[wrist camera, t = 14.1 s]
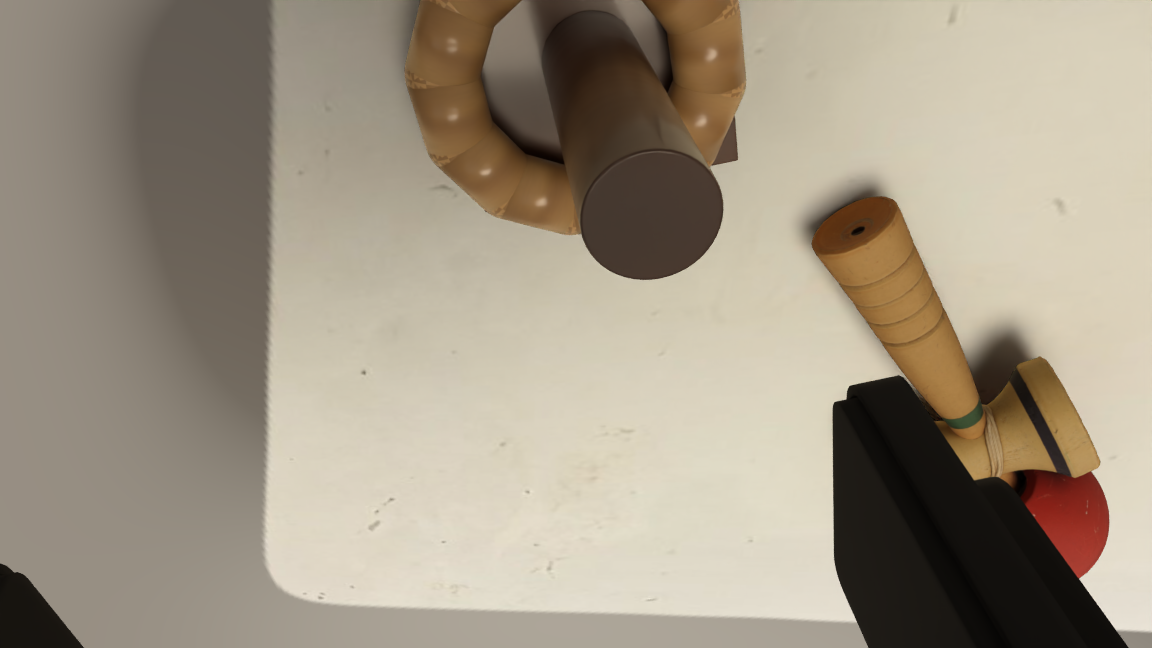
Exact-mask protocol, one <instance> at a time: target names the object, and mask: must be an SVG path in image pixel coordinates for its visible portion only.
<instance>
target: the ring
mask: <svg viewBox="0 0 1152 648" xmlns="http://www.w3.org/2000/svg"><path fill="white" fill-rule="evenodd" d="M521 1H522V0H420V4H419V8H418V12H417V17H416V21H415V25H414V29H413V33H412V38H411V42H410V46H409V50H408V54H407V59H406V63H405V70H404V71H405V81H406V85H407V88H408V91H409V95H410V98H411V101H412V104H413V107H414V111H415V114H416V117H417V120H418V123H419V127H420V130H421V133H422V136H423V139H424V143H425V146H426V149H427V152H428V154H429V156H430V158H431V159H432V161H433V162H434V163H435V164H436V165H437V166H438V167H439V168H440V169H441V170H442V171H443V172H444V173H445V174H446V175H447V176H449V177H450V178H451V179H452V180H453V181H454V182H455V183H456V184H457V185H458V186H459V187H460V188H461V189H463V190H464V191H465V192H466V193H467V194H468V195H469V196H470V197H471V198H472V199H473V200H474V201H476V202H477V203H478V204H479V205H480V206H481V207H482V208H483V209H484V210H485V211H487V212H488V213H489V214H491V215H493V216H495V217H497V218H500V219H504V220H508V221H512V222H516V223H520V224H524V225H528V226H532V227H536V228H540V229H544V230H548V231H552V232H556V233H560V234H564V235H577V234H581V230H580V226H579V222H578V218H577V214H576V209H575V205H574V201H573V197H572V193H571V188H570V184H569V180H568V176H567V171H566V167H565V165H564V164H560V163H556V162H553V161H549V160H546V159H542V158H538V157H535V156H531V155H527V154H525V153H524V152H523V151H522V150H521V149H520V148H519V147H518V146H517V145H516V144H515V143H514V142H513V141H512V140H511V139H510V138H509V137H508V136H507V135H506V134H505V133H504V132H503V131H502V130H501V129H500V128H499V127H498V126H497V125H496V124H495V123H494V122H493V121H492V117H491V114H490V110H489V106H488V102H487V98H486V95H485V91H484V87H483V83H482V79H481V72H482V69H483V65H484V61H485V58H486V54H487V51H488V47H489V44H490V40H491V37H492V33H493V30H494V27H495V26H496V25H497V24H498V23H499V22H500V21H501V20H502V19H503V18H504V17H505V16H506V15H507V14H508V13H509V12H510V11H511V10H512V9H513V8H514V7H515V6H516V5H517V4H518V3H520V2H521ZM641 1H642V2H643V3H644V4H645V6H646V7H647V8H648V9H649V10H650V12H651V13H652V14H653V15H654V17H655V18H656V19H657V20H658V21H659V23H660V24H661V25H662V26H663V28H664V29H665V30H666V31H667V38H668V45H669V52H670V59H671V66H672V73H673V81H672V83H671V86H670V88H669V91H668V93H667V94H668V96H669V97H670V99H671V101H672V103H673V104H674V106H675V108H676V110H677V111H678V113H679V115H680V117H681V118H682V120H683V122H684V124H685V125H686V127H687V129H688V131H689V132H690V134H691V136H692V138H693V139H694V141H695V143H696V145H697V146H698V148H699V150H700V152H701V154H702V155H703V157H704V159H705V161H706V162H707V164H708V166H709V168H710V167H711V165H712V164H713V162H714V161H715V159H716V156H717V154H718V152H719V150H720V147H721V145H722V143H723V140H724V138H725V136H726V134H727V131H728V129H729V127H730V125H731V122H732V120H733V118H734V115H735V113H736V111H737V109H738V106H739V104H740V102H741V100H742V97H743V95H744V92H745V87H746V71H745V60H744V49H743V38H742V28H741V17H740V7H739V1H738V0H641Z"/></svg>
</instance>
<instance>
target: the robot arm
mask: <svg viewBox="0 0 1152 648" xmlns="http://www.w3.org/2000/svg"><path fill="white" fill-rule="evenodd" d="M833 504H834V561H835V566H836V571H837V575H838V578H839V581H840V584H841V587H842V589H843V591H844V594H845V596H846V598H847V600H848V603H849V605H850V607H851V609H852V612H853V614H854V616H855V618H856V621H857V623H858V625H859V627H860V629H861V632H862V634H863V636H864V639H865V641H866V643H867V645H868V648H1128V646H1127V645H1126V643H1125V642H1124V641H1123V639H1122V638H1121V637H1120V635H1119V634H1118V632H1117V631H1116V630H1115V628H1114V627H1113V625H1112V624H1111V623H1110V621H1109V620H1108V619H1107V617H1106V616H1105V614H1104V613H1103V612H1102V610H1101V609H1100V608H1099V606H1098V605H1097V603H1096V602H1095V601H1094V599H1093V598H1092V596H1091V595H1090V594H1089V592H1088V591H1087V590H1086V588H1085V587H1084V585H1083V584H1082V583H1081V581H1080V580H1079V578H1078V577H1077V576H1076V574H1075V573H1074V572H1073V570H1072V569H1071V567H1070V566H1069V565H1068V563H1067V562H1066V560H1065V559H1064V558H1063V556H1062V555H1061V554H1060V552H1059V551H1058V549H1057V548H1056V547H1055V545H1054V544H1053V543H1052V541H1051V540H1050V538H1049V537H1048V536H1047V534H1046V533H1045V531H1044V530H1043V529H1042V527H1041V526H1040V525H1039V523H1038V522H1037V520H1036V519H1035V518H1034V516H1033V515H1032V513H1031V512H1030V511H1029V509H1028V508H1027V507H1026V505H1025V504H1024V502H1023V501H1022V500H1021V498H1020V497H1019V495H1018V494H1017V493H1016V492H1015V491H1014V489H1013V488H1012V487H1011V486H1010V485H1009V484H1008V483H1007V482H1006V481H1004V480H1003V479H1001V478H999V477H988V478H983V479H978V480H974V479H973V478H972V476H971V475H970V473H969V472H968V470H967V469H966V468H965V466H964V465H963V463H962V462H961V460H960V459H959V457H958V456H957V454H956V453H955V451H954V450H953V448H952V447H951V445H950V444H949V443H948V441H947V440H946V438H945V437H944V435H943V434H942V432H941V431H940V429H939V428H938V426H937V425H936V423H935V422H934V420H933V419H932V417H931V416H930V415H929V413H928V412H927V410H926V409H925V407H924V406H923V404H922V403H921V401H920V400H919V398H918V397H917V395H916V394H915V392H914V391H913V390H912V388H911V387H910V385H909V384H908V382H907V381H906V380H905V379H904V378H903V377H901V376H894V377H889V378H884V379H880V380H875V381H870V382H865V383H860V384H855V385H851V386H849V388H848V391H847V400H842V401H837V402H834V405H833ZM0 648H84V647H83V646H82V645H81V644H80V642H79V641H78V640H77V639H76V637H75V636H74V635H73V634H72V633H71V631H70V630H69V629H68V628H67V626H66V625H65V624H64V623H63V621H62V620H61V619H60V618H59V616H58V615H57V614H56V613H55V612H54V610H53V609H52V608H51V607H50V605H49V604H48V603H47V602H46V600H45V599H44V598H43V597H42V595H41V594H40V593H39V592H38V590H37V589H36V588H35V587H34V586H33V584H32V583H31V582H30V581H29V579H28V578H27V577H26V576H24V575H23V574H21V573H18V572H16V573H14V572H13V571H12V570H11V569H10V568H8V567H7V566H5V565H3V564H0Z"/></svg>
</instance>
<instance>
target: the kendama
mask: <svg viewBox="0 0 1152 648" xmlns="http://www.w3.org/2000/svg"><path fill="white" fill-rule="evenodd" d="M812 248H813V250H814V252H815V253H816V255H817V256H818V257H819V259H820V260H821V261H822V263H823V264H824V265H825V266H826V268H827V269H828V270H829V272H830V273H831V274H832V275H833V277H834V278H835V279H836V280H837V281H838V282H839V284H840V286H841V287H842V289H843V290H844V291H845V293H846V294H847V295H848V297H849V298H850V299H851V300H852V301H853V303H854V304H855V306H856V308H857V309H858V311H859V312H860V313H861V315H862V316H863V317H864V318H865V320H866V321H867V323H868V324H869V326H870V327H871V329H872V330H873V331H874V333H875V334H876V336H877V337H878V338H879V339H880V341H881V343H882V344H883V346H884V347H885V349H886V350H887V352H888V353H889V354H890V356H891V357H892V359H893V360H894V361H895V363H896V364H897V365H898V367H899V368H900V369H901V371H902V372H903V373H904V374H905V376H906V377H907V378H908V380H909V381H910V382H911V383H912V384H913V386H914V387H915V388H916V389H917V390H918V391H919V393H920V394H921V395H922V396H923V397H924V398H925V400H926V401H927V402H928V403H929V404H930V405H931V406H932V408H933V409H934V410H935V411H936V412H937V413H938V414H939V416H940V417H941V418H942V419H943V420H944V421H934V422H935V423H936V425H937V426H938V428H939V429H940V431H941V432H942V434H943V435H944V437H945V438H946V440H947V441H948V443H949V444H950V445H951V447H952V448H953V450H954V451H955V453H956V454H957V456H958V457H959V459H960V460H961V462H962V463H963V465H964V466H965V468H966V469H967V470H968V472H969V473H970V475H971V476H972V478H973V479H974V480H978V479H983V478H988V477H999V478H1001V479H1003V480H1004V481H1006V482H1007V483H1008V484H1009V485H1010V486H1011V487H1012V488H1013V489H1014V491H1015V492H1016V493H1017V494H1018V495H1019V497H1020V498H1021V500H1022V501H1023V502H1024V504H1025V505H1026V507H1027V508H1028V509H1029V511H1030V512H1031V513H1032V515H1033V516H1034V518H1035V519H1036V520H1037V522H1038V523H1039V525H1040V526H1041V527H1042V529H1043V530H1044V531H1045V533H1046V534H1047V536H1048V537H1049V538H1050V540H1051V541H1052V543H1053V544H1054V545H1055V547H1056V548H1057V549H1058V551H1059V552H1060V554H1061V555H1062V556H1063V558H1064V559H1065V560H1066V562H1067V563H1068V565H1069V566H1070V567H1071V569H1072V570H1073V572H1074V573H1075V574H1076V576H1077V577H1078V578H1080V577H1082V576H1083V575H1084V574H1085V573H1087V572H1088V571H1089V570H1090V569H1091V568H1092V567H1093V565H1094V564H1095V563H1096V561H1097V560H1098V559H1099V557H1100V555H1101V553H1102V551H1103V549H1104V547H1105V544H1106V541H1107V537H1108V532H1109V510H1108V506H1107V501H1106V498H1105V495H1104V493H1103V490H1102V488H1101V486H1100V484H1099V482H1098V481H1097V479H1096V477H1095V476H1094V475H1093V473H1092V472H1091V471H1092V470H1094V469H1097V468H1098V467H1099V466H1100V460H1099V457H1098V456H1097V452H1096V450H1095V447H1094V445H1093V443H1092V441H1091V438H1090V436H1089V434H1088V432H1087V430H1086V428H1085V427H1084V425H1083V423H1082V420H1081V418H1080V416H1079V414H1078V413H1077V411H1076V409H1075V407H1074V405H1073V403H1072V402H1071V400H1070V398H1069V396H1068V394H1067V392H1066V390H1065V388H1064V387H1063V385H1062V383H1061V382H1060V380H1059V379H1058V377H1057V375H1056V374H1055V372H1054V370H1053V368H1052V367H1051V366H1050V364H1049V363H1048V362H1047V360H1045V359H1044V358H1042V357H1040V356H1039V357H1038V358H1035V359H1032V360H1029V361H1026V362H1023V363H1020V364H1018V365H1017V366H1016V368H1015V370H1014V371H1013V373H1012V375H1011V378H1010V379H1009V381H1008V383H1007V385H1006V386H1005V388H1004V389H1003V390H1002V391H1001V393H1000V394H999V395H998V396H997V397H996V398H995V399H994V400H993V401H991V402H990V403H989V404H988V405H984V404H981V401H980V397H979V395H978V392H977V389H976V386H975V383H974V381H973V377H972V375H971V371H970V369H969V366H968V363H967V360H966V358H965V355H964V353H963V350H962V348H961V345H960V343H959V340H958V338H957V336H956V333H955V331H954V329H953V327H952V325H951V322H950V320H949V318H948V316H947V314H946V312H945V310H944V308H943V307H942V303H941V301H940V299H939V297H938V295H937V293H936V291H935V289H934V287H933V285H932V282H931V280H930V277H929V275H928V273H927V271H926V269H925V267H924V265H923V262H922V260H921V258H920V256H919V253H918V251H917V249H916V247H915V245H914V243H913V240H912V237H911V235H910V232H909V230H908V228H907V225H906V223H905V220H904V218H903V215H902V213H901V211H900V209H899V207H898V205H897V203H896V202H895V201H894V200H893V199H890V198H887V197H882V196H879V197H878V196H877V197H869V198H865V199H862V200H858V201H855V202H853V203H851V204H849V205H847V206H845V207H843V208H841V209H840V210H838V211H837V212H836V213H834V214H832V215H831V216H830V217H829V218H828V219H826V220H825V221H824V222H823V224H822V225H821V226H820V227H819V228H818V230H817V231H816V233H815V235H814V237H813V240H812Z"/></svg>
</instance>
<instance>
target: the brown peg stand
mask: <svg viewBox="0 0 1152 648" xmlns="http://www.w3.org/2000/svg"><path fill="white" fill-rule="evenodd" d="M481 79H482V83H483V87H484V91H485V95H486V98H487V102H488V106H489V110H490V114H491V117H492V121H493V122H494V123H495V124H496V125H497V126H498V127H499V128H500V129H501V130H502V131H503V132H504V133H505V134H506V135H507V136H508V137H509V138H510V139H511V140H512V141H513V142H514V143H515V144H516V145H517V146H518V147H519V148H520V149H521V150H522V151H523V152H524V153H525V154H527V155H531V156H535V157H538V158H542V159H546V160H549V161H553V162H556V163H560V164H564V165H565V167H566V171H567V176H568V180H569V184H570V188H571V193H572V197H573V201H574V205H575V209H576V214H577V218H578V222H579V226H580V230H581V234H582V238H583V241H584V243H585V245H586V247H587V249H588V251H589V252H590V254H591V255H592V256H593V257H594V259H595V260H596V261H597V262H599V263H600V264H601V265H602V266H603V267H605V268H606V269H608V270H609V271H611V272H613V273H615V274H618V275H620V276H623V277H627V278H632V279H640V280H652V279H659V278H663V277H667V276H671V275H673V274H676V273H678V272H680V271H682V270H684V269H686V268H688V267H689V266H691V265H692V264H694V263H695V262H696V261H697V260H698V259H700V258H701V257H702V256H703V255H704V253H705V252H706V251H707V250H708V249H709V247H710V246H711V245H712V243H713V241H714V240H715V238H716V236H717V234H718V231H719V229H720V226H721V222H722V217H723V198H722V193H721V189H720V186H719V184H718V182H717V180H716V178H715V176H714V175H713V173H712V171H711V169H710V168H709V166H708V164H707V162H706V161H705V159H704V157H703V155H702V154H701V152H700V150H699V148H698V146H697V145H696V143H695V141H694V139H693V138H692V136H691V134H690V132H689V131H688V129H687V127H686V125H685V124H684V122H683V120H682V118H681V117H680V115H679V113H678V111H677V110H676V108H675V106H674V104H673V103H672V101H671V99H670V97H669V96H668V94H667V93H668V91H669V88H670V86H671V83H672V81H673V73H672V66H671V59H670V52H669V45H668V38H667V31H666V30H665V29H664V28H663V26H662V25H661V24H660V23H659V21H658V20H657V19H656V18H655V17H654V15H653V14H652V13H651V12H650V10H649V9H648V8H647V7H646V6H645V4H644V3H643V2H642V1H641V0H522V1H521V2H520V3H518V4H517V5H516V6H515V7H514V8H513V9H512V10H511V11H510V12H509V13H508V14H507V15H506V16H505V17H504V18H503V19H502V20H501V21H500V22H499V23H498V24H497V25H496V26H495V27H494V30H493V33H492V37H491V40H490V44H489V47H488V51H487V54H486V58H485V61H484V65H483V69H482V72H481ZM736 160H738V152H737V139H736V126H735V115H734V118H733V120H732V122H731V125H730V127H729V129H728V131H727V134H726V136H725V138H724V140H723V143H722V145H721V147H720V150H719V152H718V154H717V156H716V159H715V161H714V162H713V164H712V165H717V164H722V163H727V162H732V161H736ZM712 165H711V166H712ZM485 212H487V211H485Z"/></svg>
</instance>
